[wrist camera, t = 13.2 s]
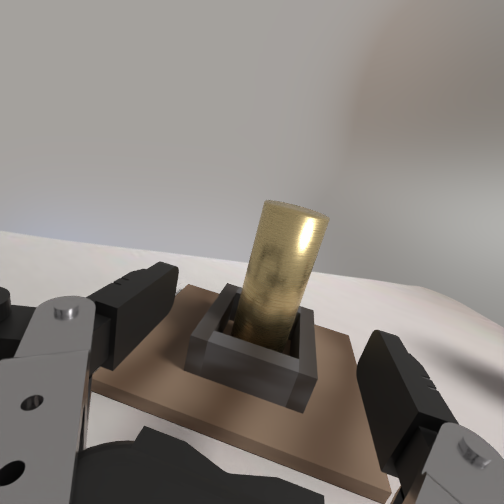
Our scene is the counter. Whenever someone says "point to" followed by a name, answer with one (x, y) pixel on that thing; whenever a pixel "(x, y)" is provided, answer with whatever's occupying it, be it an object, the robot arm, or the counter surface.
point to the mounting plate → (254, 390)
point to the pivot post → (278, 273)
